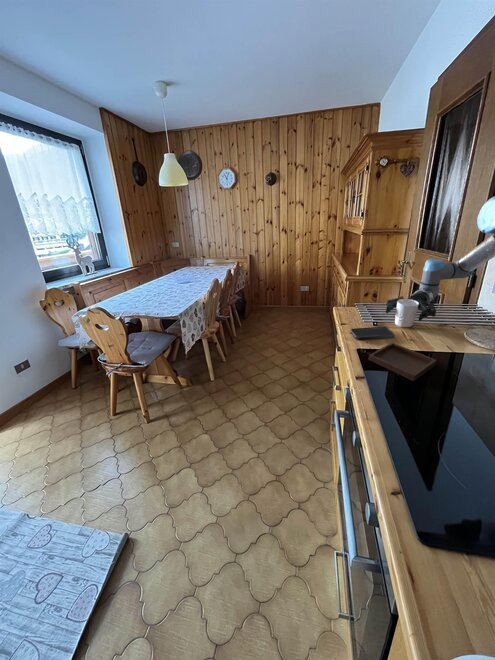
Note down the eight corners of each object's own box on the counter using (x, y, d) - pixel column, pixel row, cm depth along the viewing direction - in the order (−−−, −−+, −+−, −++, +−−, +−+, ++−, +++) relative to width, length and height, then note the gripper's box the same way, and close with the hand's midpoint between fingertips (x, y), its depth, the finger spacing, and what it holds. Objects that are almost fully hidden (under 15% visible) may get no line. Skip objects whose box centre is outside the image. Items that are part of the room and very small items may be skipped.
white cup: (409, 319, 124) (414, 298, 119) (417, 328, 117) (422, 305, 112) (390, 320, 125) (394, 299, 120) (397, 328, 118) (401, 306, 113)
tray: (435, 365, 94) (436, 360, 93) (413, 381, 87) (414, 375, 86) (390, 347, 105) (391, 342, 104) (368, 359, 99) (369, 354, 98)
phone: (350, 328, 117) (385, 326, 117) (349, 331, 118) (385, 328, 118) (357, 337, 110) (395, 335, 110) (356, 340, 111) (394, 337, 111)
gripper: (449, 312, 123) (434, 330, 110) (391, 300, 139) (372, 314, 126) (454, 296, 119) (438, 312, 106) (394, 285, 135) (374, 299, 122)
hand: (402, 314), depth 116 cm, fingers open, 12 cm apart
